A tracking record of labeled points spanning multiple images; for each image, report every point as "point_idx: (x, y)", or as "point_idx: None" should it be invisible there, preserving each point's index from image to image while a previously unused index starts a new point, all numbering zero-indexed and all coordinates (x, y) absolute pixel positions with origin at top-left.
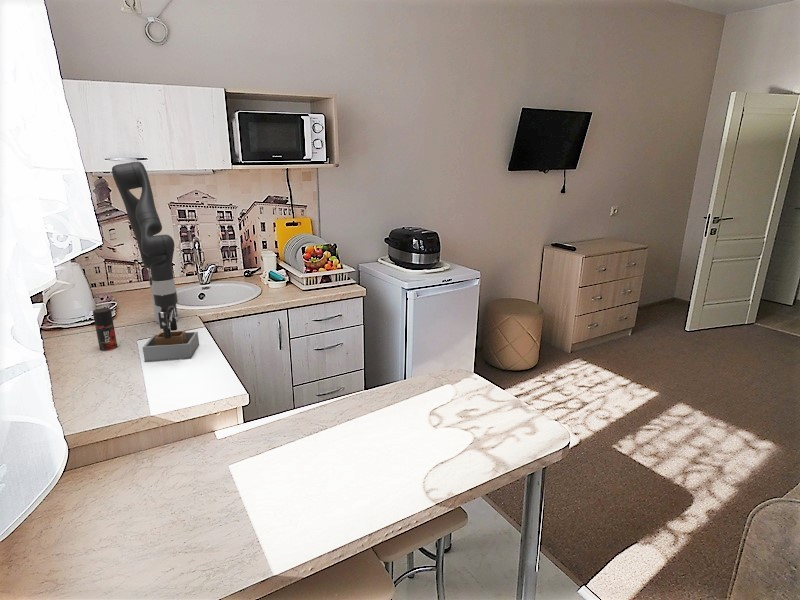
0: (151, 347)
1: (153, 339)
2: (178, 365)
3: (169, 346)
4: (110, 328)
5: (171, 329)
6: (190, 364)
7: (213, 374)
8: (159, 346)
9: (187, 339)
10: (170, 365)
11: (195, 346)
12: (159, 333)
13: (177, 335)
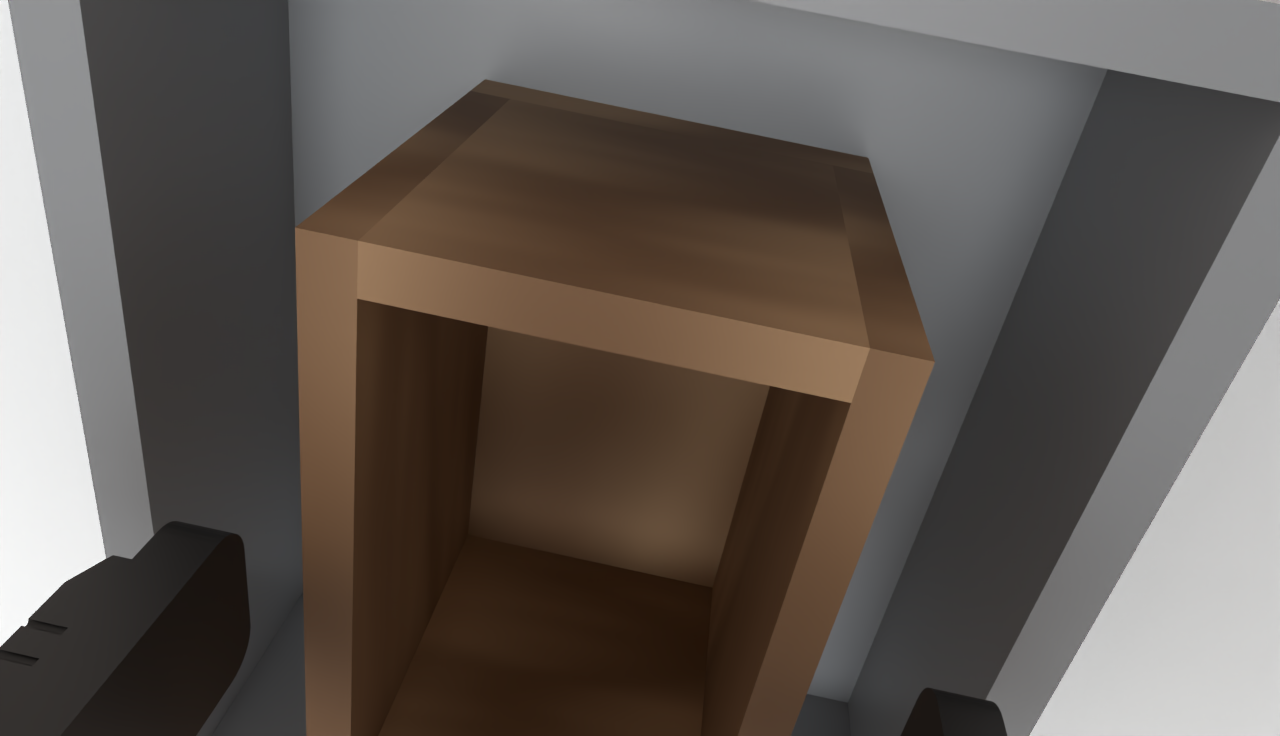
0: (36, 70)
1: (966, 30)
2: (31, 424)
3: (114, 485)
4: None
5: (925, 721)
6: (63, 560)
7: None
8: (66, 289)
9: (903, 685)
10: (34, 317)
11: None
12: (821, 356)
13: (725, 690)
